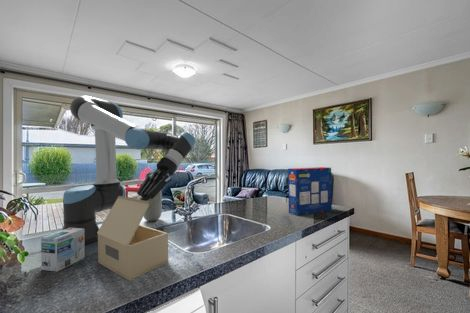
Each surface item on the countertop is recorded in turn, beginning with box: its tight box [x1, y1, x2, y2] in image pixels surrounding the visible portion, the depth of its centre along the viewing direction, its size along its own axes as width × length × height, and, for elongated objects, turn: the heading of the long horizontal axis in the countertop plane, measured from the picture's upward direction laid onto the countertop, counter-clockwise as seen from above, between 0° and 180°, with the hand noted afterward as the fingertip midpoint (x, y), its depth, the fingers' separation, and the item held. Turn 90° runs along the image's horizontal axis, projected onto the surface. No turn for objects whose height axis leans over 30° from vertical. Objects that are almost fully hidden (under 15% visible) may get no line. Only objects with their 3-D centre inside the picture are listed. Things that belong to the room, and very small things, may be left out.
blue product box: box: [287, 166, 333, 217], centre depth 144 cm, size 28×8×28 cm, turn 114°
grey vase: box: [143, 171, 163, 222], centre depth 128 cm, size 10×10×28 cm
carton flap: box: [97, 196, 151, 246], centre depth 75 cm, size 19×14×1 cm
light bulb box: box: [40, 228, 86, 273], centre depth 77 cm, size 11×7×11 cm, turn 168°
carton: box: [97, 224, 169, 281], centre depth 78 cm, size 20×14×10 cm
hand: (131, 213), depth 77 cm, fingers closed
